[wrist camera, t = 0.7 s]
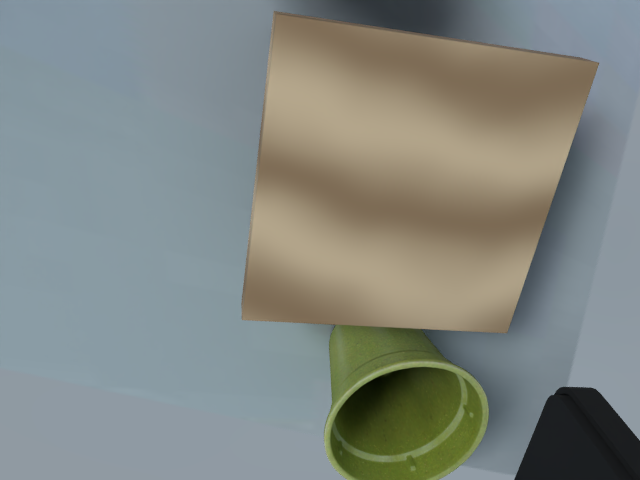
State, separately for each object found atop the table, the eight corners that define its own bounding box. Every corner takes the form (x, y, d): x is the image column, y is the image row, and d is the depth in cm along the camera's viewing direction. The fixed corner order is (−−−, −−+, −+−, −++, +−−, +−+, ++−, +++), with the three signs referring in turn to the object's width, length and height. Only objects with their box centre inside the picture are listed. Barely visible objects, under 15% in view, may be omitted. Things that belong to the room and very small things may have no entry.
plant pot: (463, 300, 39) (520, 384, 32) (404, 404, 43) (442, 503, 35) (337, 262, 37) (366, 343, 29) (285, 377, 40) (298, 477, 32)
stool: (265, 0, 29) (276, 14, 22) (517, 39, 32) (599, 63, 25) (239, 246, 35) (242, 320, 28) (454, 262, 38) (506, 333, 31)
